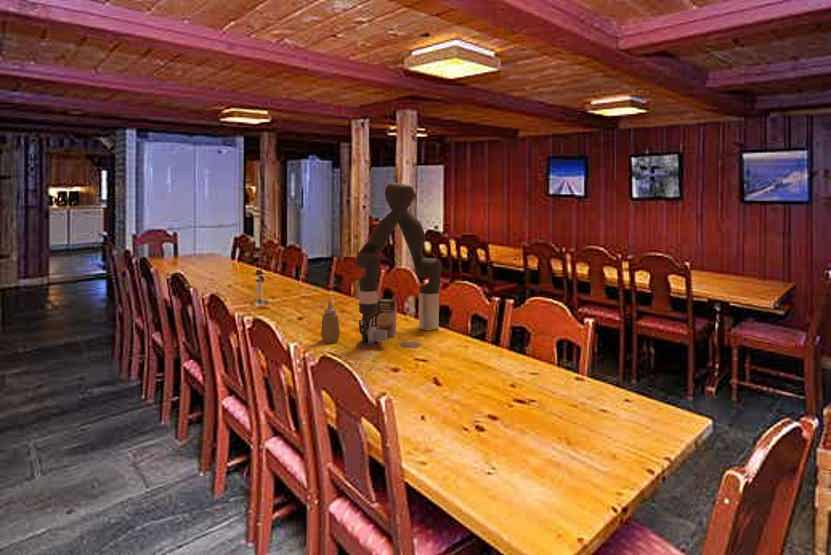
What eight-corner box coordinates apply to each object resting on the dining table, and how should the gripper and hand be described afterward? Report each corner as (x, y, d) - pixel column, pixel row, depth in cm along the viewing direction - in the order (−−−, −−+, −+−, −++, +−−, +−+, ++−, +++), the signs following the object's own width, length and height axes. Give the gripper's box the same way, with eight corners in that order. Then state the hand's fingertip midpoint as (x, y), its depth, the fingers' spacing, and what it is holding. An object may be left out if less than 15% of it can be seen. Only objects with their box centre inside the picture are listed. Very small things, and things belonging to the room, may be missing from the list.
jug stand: (359, 342, 236) (359, 337, 236) (386, 344, 234) (386, 339, 233) (350, 350, 224) (350, 345, 224) (379, 352, 222) (379, 347, 222)
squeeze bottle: (336, 345, 231) (335, 303, 229) (318, 344, 233) (317, 302, 230) (342, 340, 239) (342, 299, 236) (325, 339, 241) (324, 298, 238)
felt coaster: (401, 342, 237) (401, 341, 237) (422, 343, 236) (422, 342, 236) (397, 348, 228) (397, 346, 228) (418, 349, 227) (418, 348, 227)
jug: (359, 346, 227) (359, 327, 226) (364, 343, 233) (364, 324, 232) (383, 349, 224) (383, 330, 223) (388, 345, 230) (388, 326, 228)
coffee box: (374, 336, 246) (374, 301, 244) (376, 332, 253) (376, 298, 250) (394, 337, 246) (394, 301, 243) (396, 333, 252) (396, 298, 249)
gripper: (369, 305, 218) (369, 346, 221) (383, 298, 232) (383, 337, 235) (352, 304, 221) (352, 345, 223) (367, 297, 234) (367, 336, 237)
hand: (368, 341), depth 229 cm, fingers closed on jug, 5 cm apart
